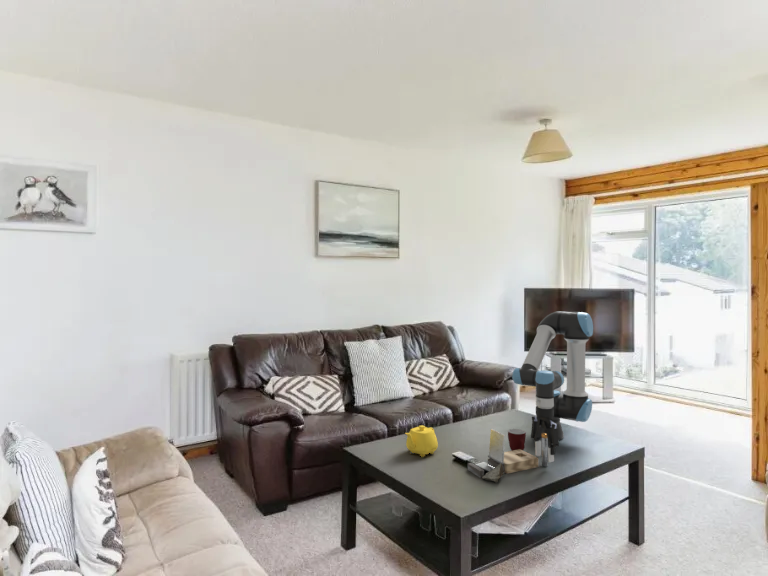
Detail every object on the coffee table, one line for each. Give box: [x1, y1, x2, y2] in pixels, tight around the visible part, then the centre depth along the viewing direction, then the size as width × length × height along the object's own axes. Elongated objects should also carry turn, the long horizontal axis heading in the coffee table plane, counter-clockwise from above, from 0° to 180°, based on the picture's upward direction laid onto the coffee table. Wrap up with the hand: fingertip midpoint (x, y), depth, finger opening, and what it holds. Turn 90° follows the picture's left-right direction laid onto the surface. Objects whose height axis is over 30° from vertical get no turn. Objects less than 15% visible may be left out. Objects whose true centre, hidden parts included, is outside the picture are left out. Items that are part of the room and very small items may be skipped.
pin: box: [540, 433, 549, 468], centre depth 218 cm, size 3×3×14 cm
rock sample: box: [481, 463, 504, 483], centre depth 204 cm, size 10×8×9 cm
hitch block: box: [467, 449, 539, 478], centre depth 216 cm, size 30×12×4 cm, turn 115°
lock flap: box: [487, 428, 506, 465], centre depth 215 cm, size 1×10×13 cm, turn 25°
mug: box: [507, 428, 527, 451], centre depth 233 cm, size 10×8×10 cm
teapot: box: [404, 425, 439, 458], centre depth 234 cm, size 14×20×13 cm
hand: (544, 458), depth 218 cm, fingers open, 7 cm apart
